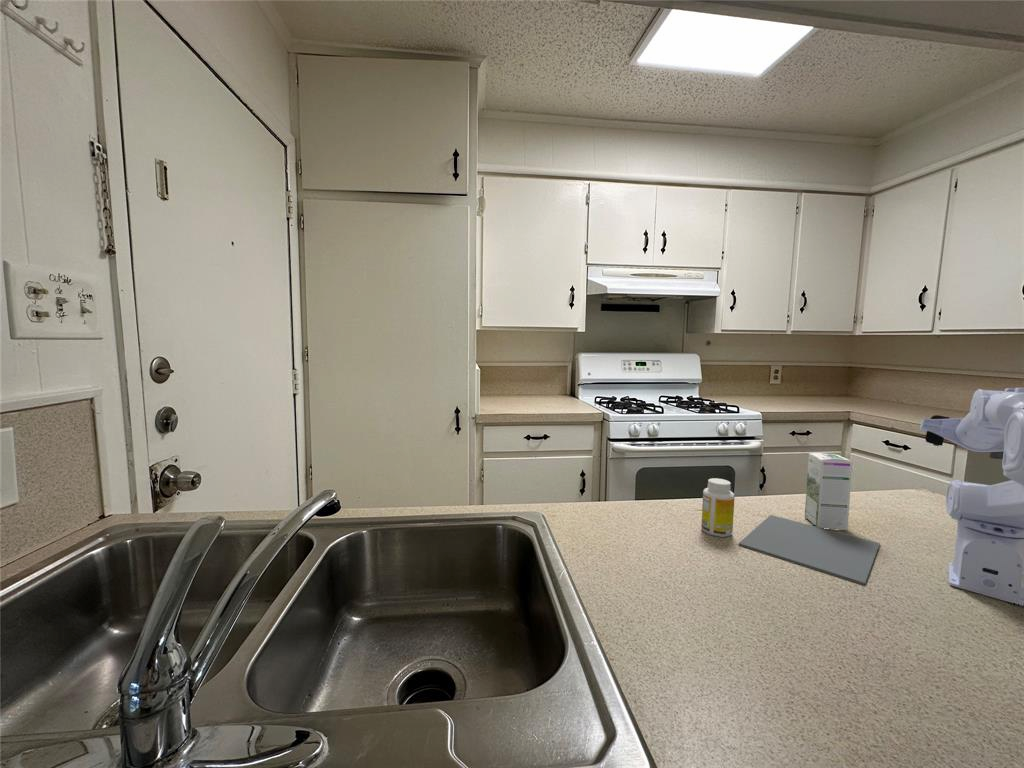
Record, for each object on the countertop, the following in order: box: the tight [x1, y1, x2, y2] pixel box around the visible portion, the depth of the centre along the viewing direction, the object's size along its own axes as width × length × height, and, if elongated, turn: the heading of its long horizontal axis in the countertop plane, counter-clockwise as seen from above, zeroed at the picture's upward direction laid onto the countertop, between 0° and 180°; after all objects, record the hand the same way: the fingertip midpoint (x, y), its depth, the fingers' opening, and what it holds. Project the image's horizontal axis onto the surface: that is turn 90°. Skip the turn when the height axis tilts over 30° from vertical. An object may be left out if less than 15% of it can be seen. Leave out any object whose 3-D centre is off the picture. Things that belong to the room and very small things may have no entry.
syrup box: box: [804, 452, 853, 531], centre depth 88 cm, size 6×6×14 cm
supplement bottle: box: [701, 477, 735, 538], centre depth 83 cm, size 6×6×10 cm
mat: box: [738, 514, 880, 586], centre depth 79 cm, size 20×18×1 cm
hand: (964, 446), depth 82 cm, fingers open, 7 cm apart
